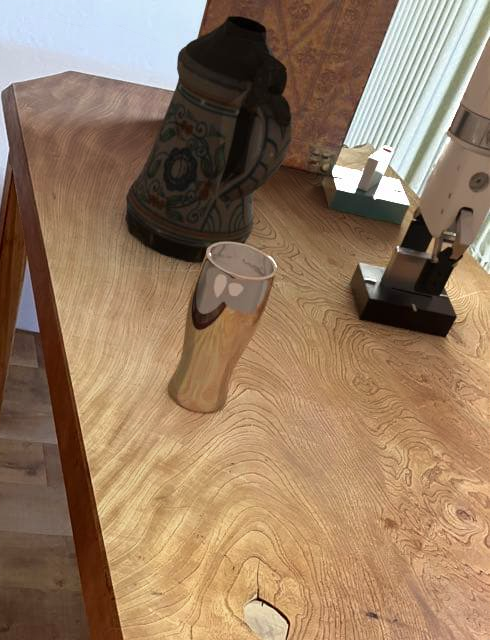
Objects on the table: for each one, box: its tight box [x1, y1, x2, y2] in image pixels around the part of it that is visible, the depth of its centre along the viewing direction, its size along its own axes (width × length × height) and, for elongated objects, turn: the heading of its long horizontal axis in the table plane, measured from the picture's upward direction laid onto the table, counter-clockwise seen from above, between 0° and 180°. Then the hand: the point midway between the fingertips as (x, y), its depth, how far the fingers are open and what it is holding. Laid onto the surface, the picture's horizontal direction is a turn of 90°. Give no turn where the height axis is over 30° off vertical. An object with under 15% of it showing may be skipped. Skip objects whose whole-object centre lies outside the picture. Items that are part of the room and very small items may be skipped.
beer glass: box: [167, 241, 278, 414], centre depth 85 cm, size 7×7×15 cm
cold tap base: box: [321, 165, 411, 225], centre depth 133 cm, size 11×11×3 cm
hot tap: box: [381, 245, 434, 297], centre depth 108 cm, size 6×2×5 cm, turn 85°
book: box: [196, 0, 400, 176], centre depth 131 cm, size 25×9×30 cm, turn 82°
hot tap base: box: [349, 262, 458, 339], centre depth 110 cm, size 11×11×3 cm
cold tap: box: [357, 145, 395, 191], centre depth 130 cm, size 6×2×5 cm, turn 146°
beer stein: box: [125, 16, 292, 264], centre depth 107 cm, size 16×19×25 cm
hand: (418, 272), depth 108 cm, fingers open, 9 cm apart
